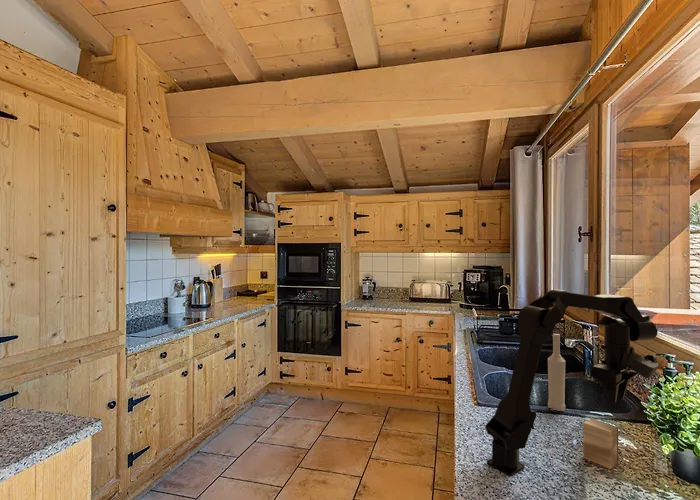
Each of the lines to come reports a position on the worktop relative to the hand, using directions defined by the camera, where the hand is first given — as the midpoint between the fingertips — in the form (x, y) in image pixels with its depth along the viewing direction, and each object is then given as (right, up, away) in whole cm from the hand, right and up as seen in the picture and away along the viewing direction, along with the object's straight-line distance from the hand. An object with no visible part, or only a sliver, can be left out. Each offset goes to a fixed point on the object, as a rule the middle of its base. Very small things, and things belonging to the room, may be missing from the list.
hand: (617, 400), depth 99 cm
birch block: (-8, -13, -6) cm, 16 cm away
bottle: (-2, -13, +25) cm, 28 cm away
